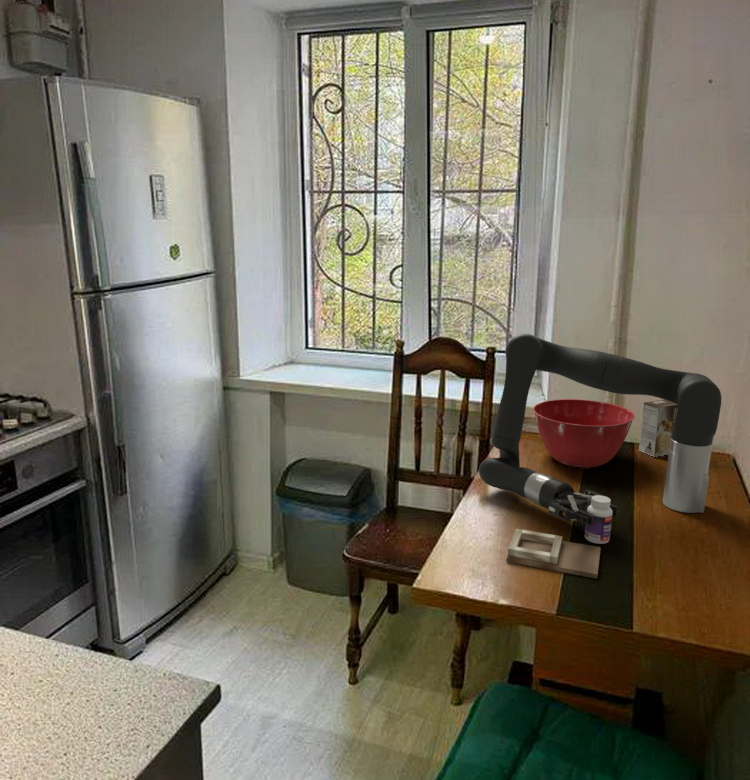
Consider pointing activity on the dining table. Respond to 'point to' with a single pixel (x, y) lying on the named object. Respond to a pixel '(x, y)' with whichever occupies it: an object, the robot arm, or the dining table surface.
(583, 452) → the mixing bowl
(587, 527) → the pill bottle
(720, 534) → the dining table surface
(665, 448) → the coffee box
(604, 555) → the dining table surface
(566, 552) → the socket board
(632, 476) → the dining table surface
